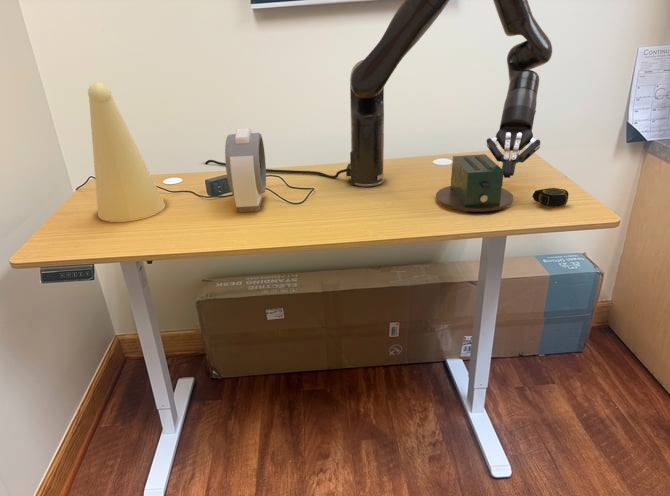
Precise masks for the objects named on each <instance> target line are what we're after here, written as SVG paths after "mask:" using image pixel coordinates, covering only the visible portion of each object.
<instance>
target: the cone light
mask: <svg viewBox="0 0 670 496" xmlns="http://www.w3.org/2000/svg"><path fill="white" fill-rule="evenodd" d="M87 95H88V103H89V114H90V115H89V116H90V128H91V129H90V130H91V141H92V142H91V144H92V152H93V153H92V156H93V167H94V180H95V191H96V192H95V193H96V194H95V195H96V205H97V217H98V218H99V219H100V220H102V221H104V222H111V223H126V222H133V221H138V220H139V221H140V220H143V219H147V218H149V217H152V216H155V215H157V214H159V213H160V212H162V211H163V210H164V209H165V207H166V203H165V201H164V200H163V199H164V198H163V197H162V195H161V193H160V191H159V190H158V189H159V188H158V187H157V185H156V183H155V181H154V179H153V177H152V175H151V173H150V170H149V169H148V167H147V164H146V163H145V161H144V159H143V156H142V155H141V152H140V150H139V148H138V146H137V144H136V142H135V140H134V138H133V136H132V134H131V132H130V130H129V128H128V126H127V124H126V122H125V120H124V118H123V115H122V114H121V112H120V110H119V107H118V105H117V103H116V101H115V99H114V97H113V95H112V91H111V89H110V88H109V86H108V85H107V84H105V83H104V82H101V81H100V82H97V81H96V82H93V83H92V84H91V85H89V87H88V90H87Z"/></svg>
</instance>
